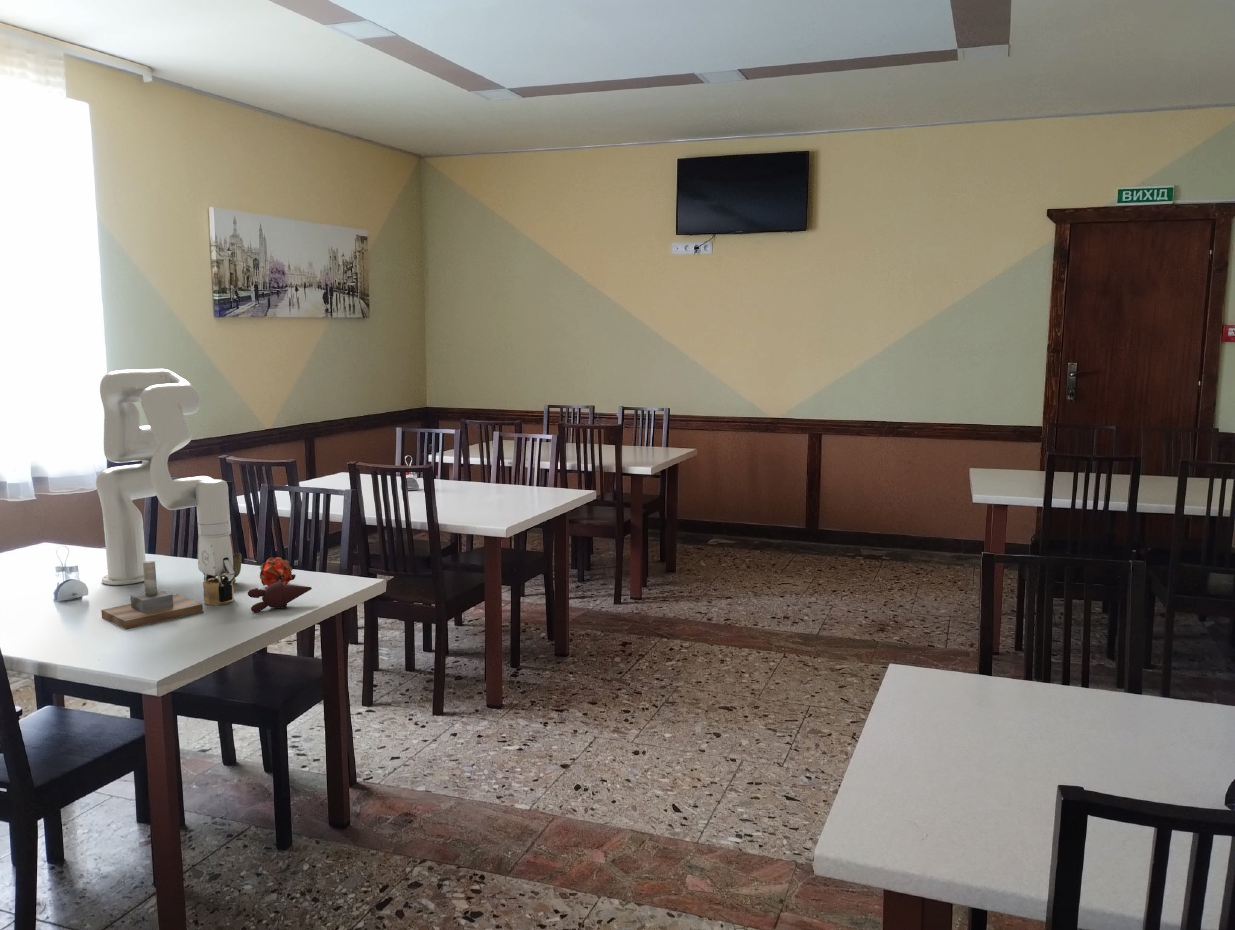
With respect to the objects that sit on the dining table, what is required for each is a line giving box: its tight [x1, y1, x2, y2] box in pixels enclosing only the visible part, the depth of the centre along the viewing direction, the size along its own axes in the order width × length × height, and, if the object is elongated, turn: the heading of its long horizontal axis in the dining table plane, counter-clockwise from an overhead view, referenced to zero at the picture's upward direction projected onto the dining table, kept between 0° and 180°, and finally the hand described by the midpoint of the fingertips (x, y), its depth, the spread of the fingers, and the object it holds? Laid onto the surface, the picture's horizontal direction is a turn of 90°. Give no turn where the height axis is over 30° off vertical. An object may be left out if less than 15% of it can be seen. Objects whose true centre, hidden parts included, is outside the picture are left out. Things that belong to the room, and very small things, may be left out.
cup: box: [221, 552, 243, 585], centre depth 257 cm, size 8×7×8 cm
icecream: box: [247, 581, 313, 613], centre depth 234 cm, size 7×7×15 cm
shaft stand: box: [100, 560, 204, 630], centre depth 228 cm, size 14×18×13 cm
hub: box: [202, 577, 235, 606], centre depth 240 cm, size 6×6×6 cm
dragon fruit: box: [259, 557, 296, 587], centre depth 254 cm, size 8×8×12 cm
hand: (219, 597), depth 240 cm, fingers closed on hub, 6 cm apart
